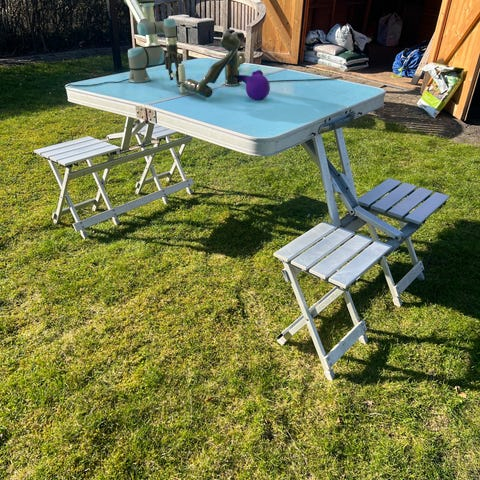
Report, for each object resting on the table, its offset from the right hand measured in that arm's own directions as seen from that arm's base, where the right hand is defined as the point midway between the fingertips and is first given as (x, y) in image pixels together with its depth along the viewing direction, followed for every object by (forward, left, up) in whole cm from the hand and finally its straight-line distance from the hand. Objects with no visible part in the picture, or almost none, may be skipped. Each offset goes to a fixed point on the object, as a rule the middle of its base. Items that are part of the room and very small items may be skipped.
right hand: (180, 81), depth 303 cm
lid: (-1, -13, +3) cm, 13 cm away
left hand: (-2, -13, -1) cm, 13 cm away
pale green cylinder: (0, +3, -6) cm, 7 cm away
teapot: (-70, -47, -6) cm, 84 cm away
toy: (-28, +47, -6) cm, 55 cm away
